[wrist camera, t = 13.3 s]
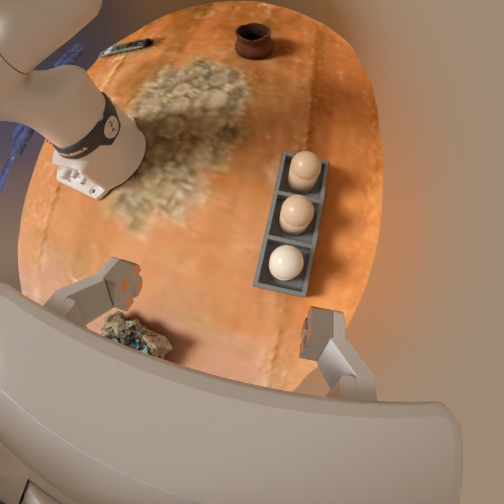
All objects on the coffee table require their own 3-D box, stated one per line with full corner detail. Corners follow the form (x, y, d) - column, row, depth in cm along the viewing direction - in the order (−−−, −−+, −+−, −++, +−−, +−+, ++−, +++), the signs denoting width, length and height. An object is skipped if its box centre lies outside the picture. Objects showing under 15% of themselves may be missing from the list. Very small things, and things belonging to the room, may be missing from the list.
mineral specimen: (102, 355, 39) (91, 373, 32) (104, 305, 40) (92, 315, 32) (169, 366, 43) (170, 386, 35) (174, 317, 44) (175, 329, 36)
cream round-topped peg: (265, 278, 41) (266, 273, 33) (272, 249, 41) (273, 238, 33) (294, 284, 40) (302, 281, 32) (300, 255, 41) (309, 246, 33)
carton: (253, 286, 41) (250, 283, 32) (281, 160, 45) (285, 131, 36) (302, 297, 41) (312, 297, 32) (325, 170, 44) (337, 143, 35)
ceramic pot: (243, 85, 48) (241, 62, 41) (202, 50, 51) (197, 29, 44) (309, 58, 49) (312, 36, 42) (263, 26, 52) (263, 7, 45)
